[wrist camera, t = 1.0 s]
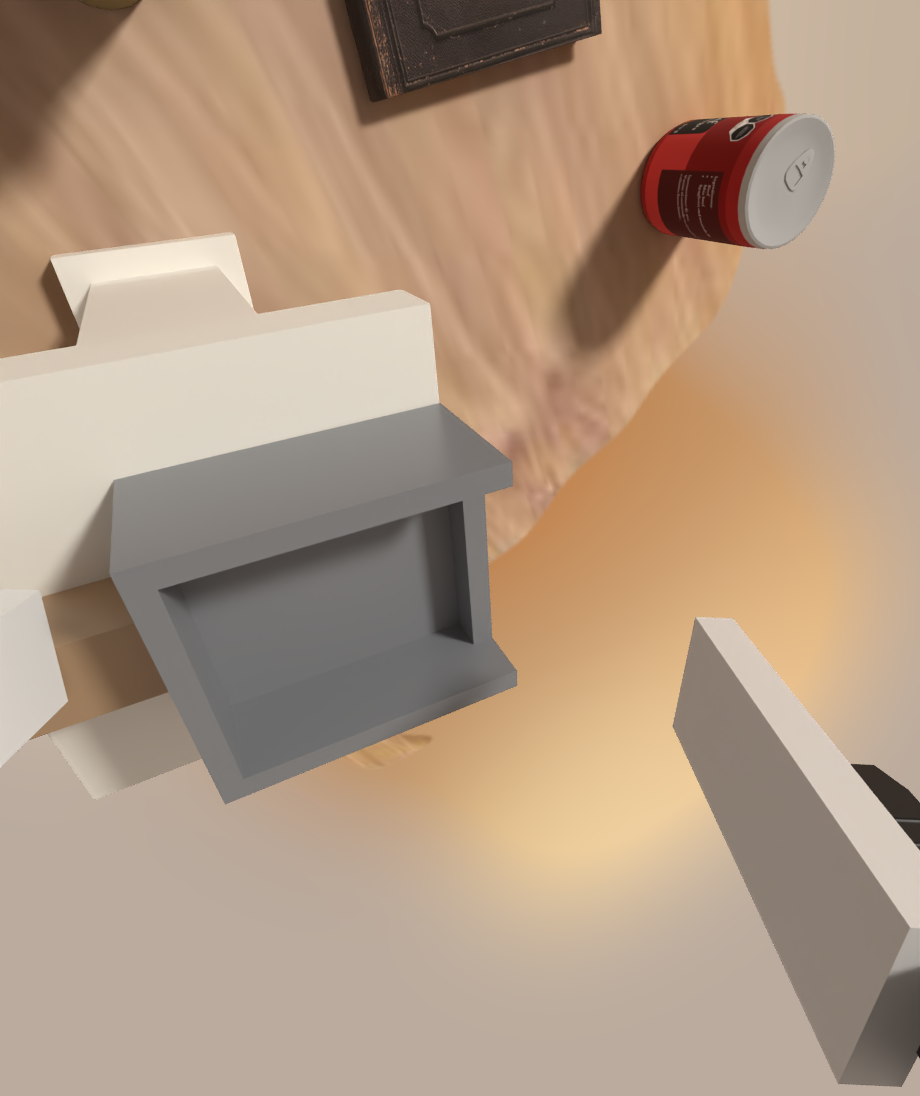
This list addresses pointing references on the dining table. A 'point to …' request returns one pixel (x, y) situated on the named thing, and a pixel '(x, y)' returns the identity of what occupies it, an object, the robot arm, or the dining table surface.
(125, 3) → the cork
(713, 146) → the canned food
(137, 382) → the stand
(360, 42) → the hardcover book
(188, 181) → the dining table surface
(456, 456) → the brown and grey bar
